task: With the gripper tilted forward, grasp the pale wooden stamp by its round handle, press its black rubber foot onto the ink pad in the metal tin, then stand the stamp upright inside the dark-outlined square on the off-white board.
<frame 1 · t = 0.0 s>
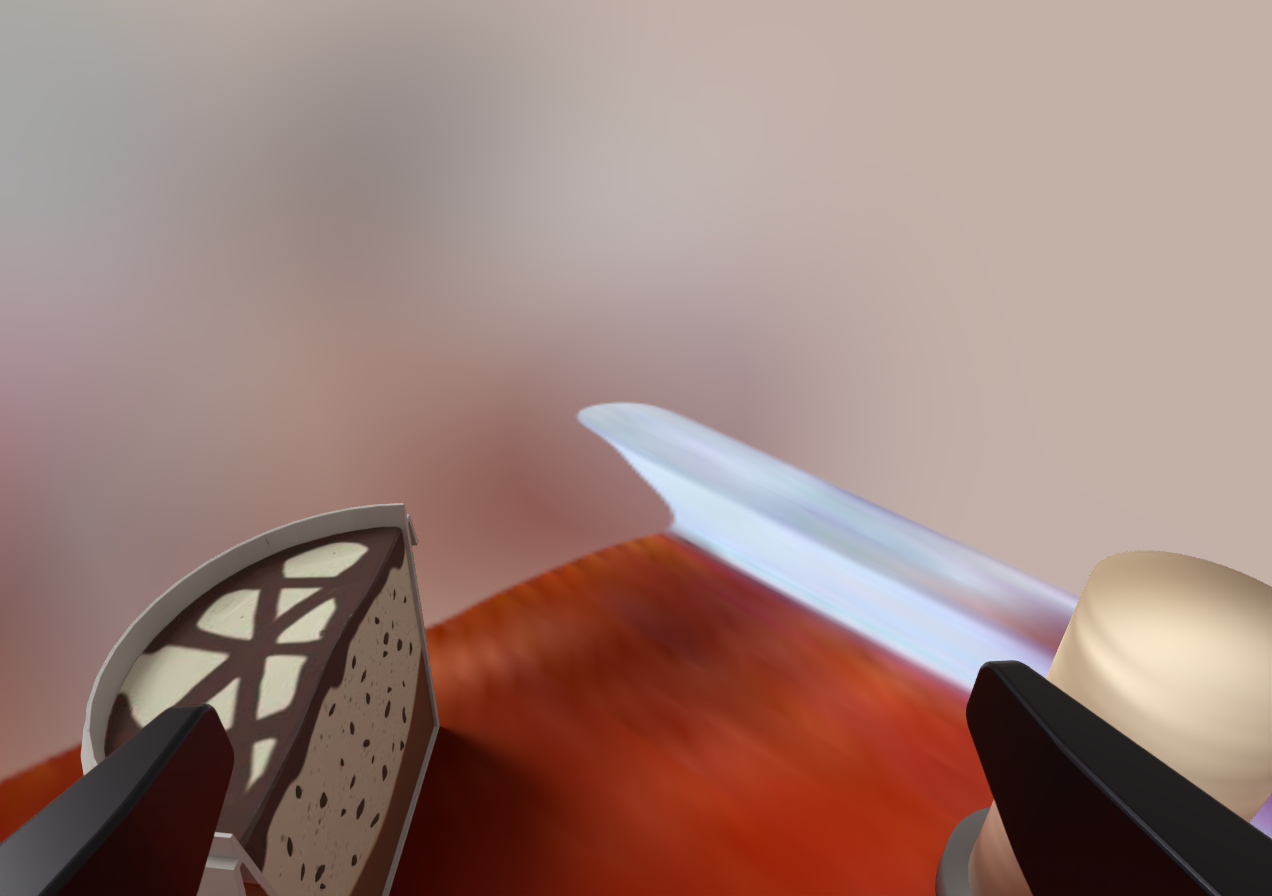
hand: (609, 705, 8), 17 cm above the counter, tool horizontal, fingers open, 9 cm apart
food container: (315, 846, 24), on the counter
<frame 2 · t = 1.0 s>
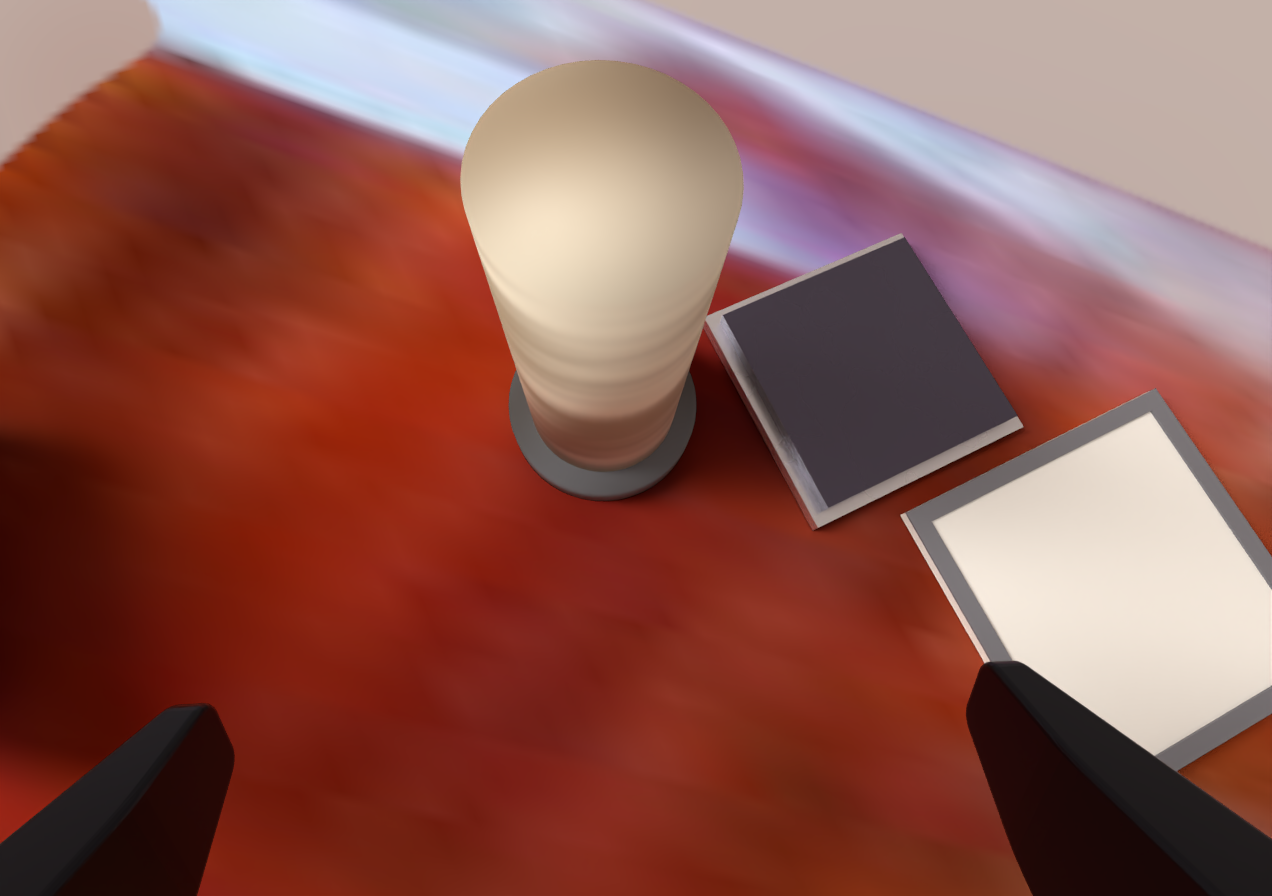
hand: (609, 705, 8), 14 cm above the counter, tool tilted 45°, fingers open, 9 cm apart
stamp: (603, 413, 24), on the counter
ink pad: (856, 377, 24), on the counter
marked board: (1112, 589, 23), on the counter
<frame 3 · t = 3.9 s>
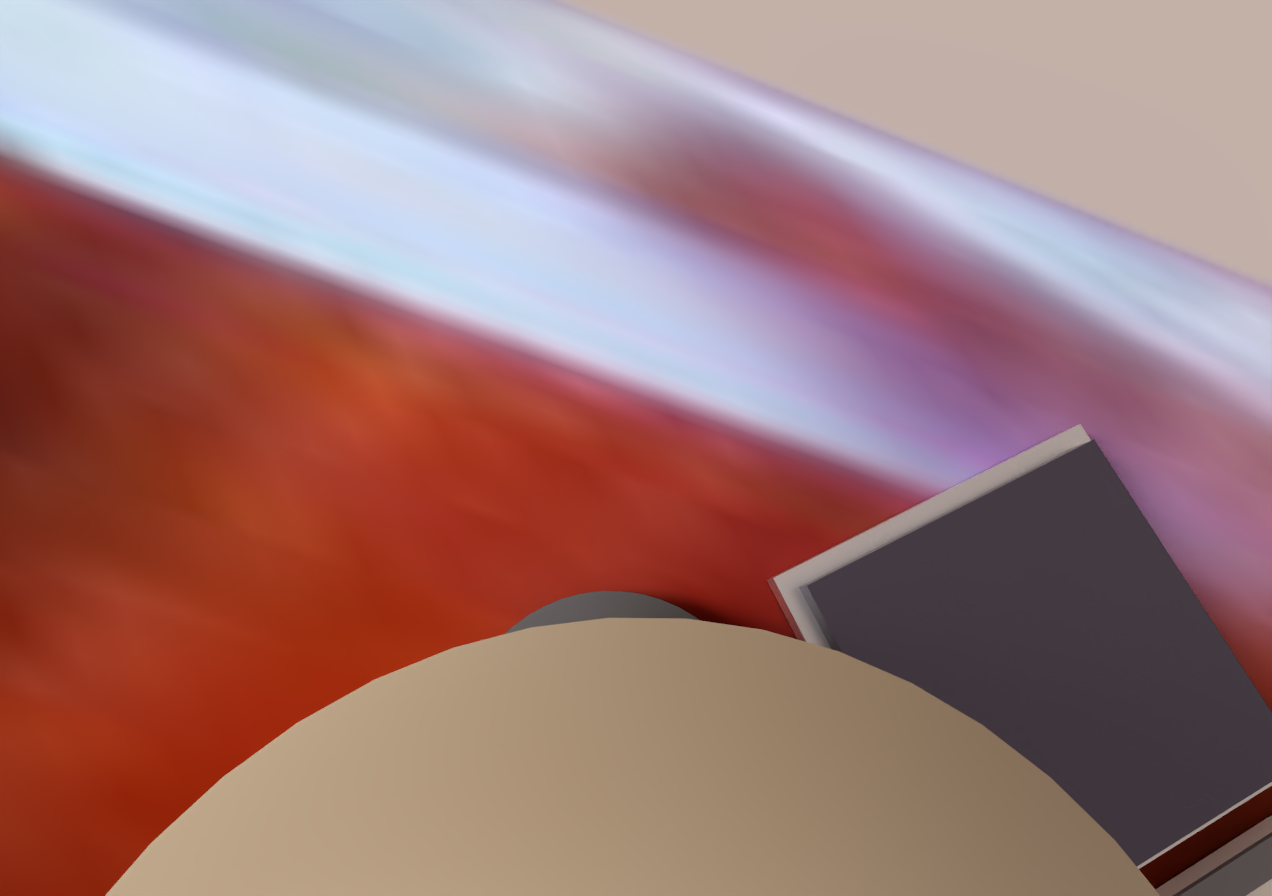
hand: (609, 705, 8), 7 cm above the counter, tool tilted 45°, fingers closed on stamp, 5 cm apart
stamp: (609, 743, 14), on the counter, touching gripper
ink pad: (1016, 668, 15), on the counter
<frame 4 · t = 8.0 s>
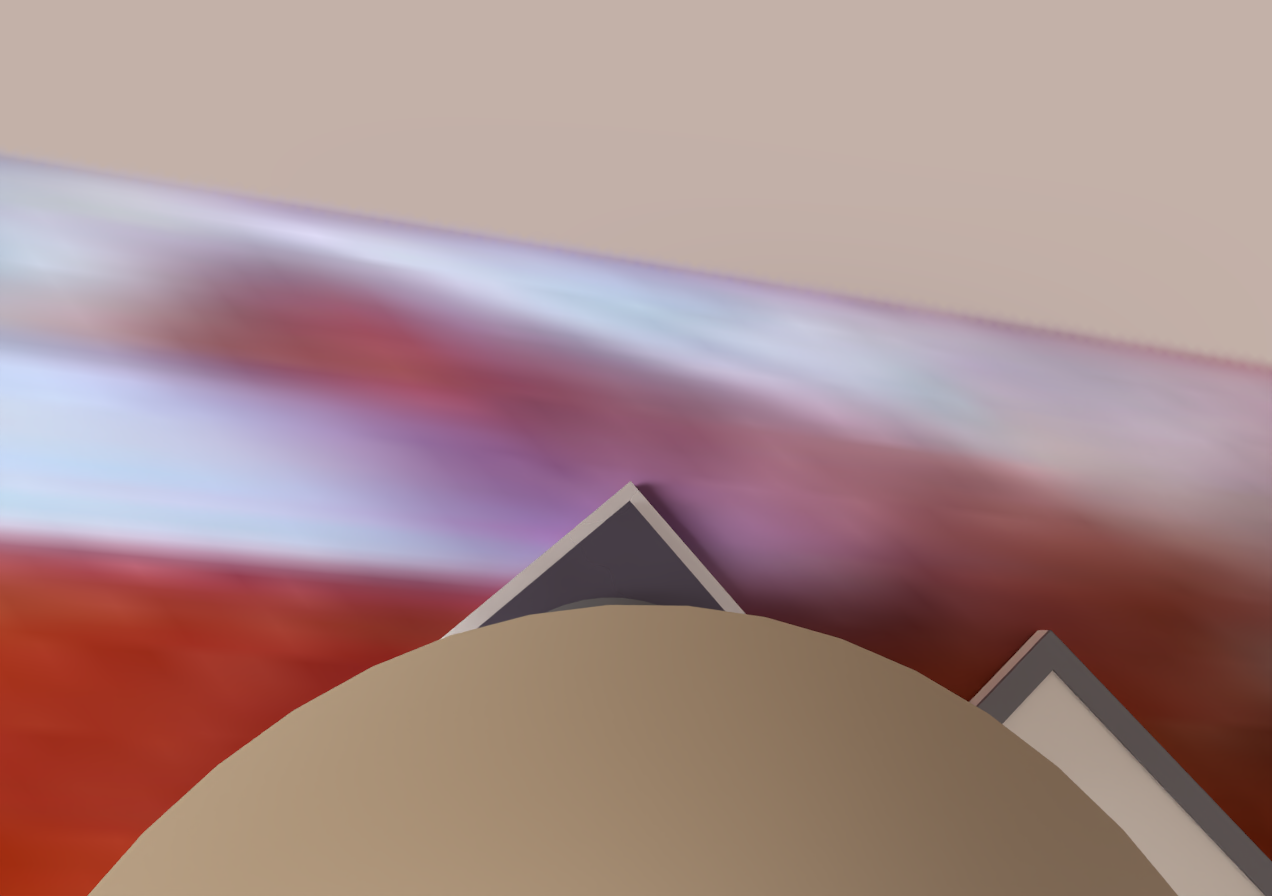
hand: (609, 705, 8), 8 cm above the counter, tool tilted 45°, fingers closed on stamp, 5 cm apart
stamp: (609, 751, 14), point 1 cm above the counter, touching gripper, ink pad
ink pad: (609, 737, 15), on the counter
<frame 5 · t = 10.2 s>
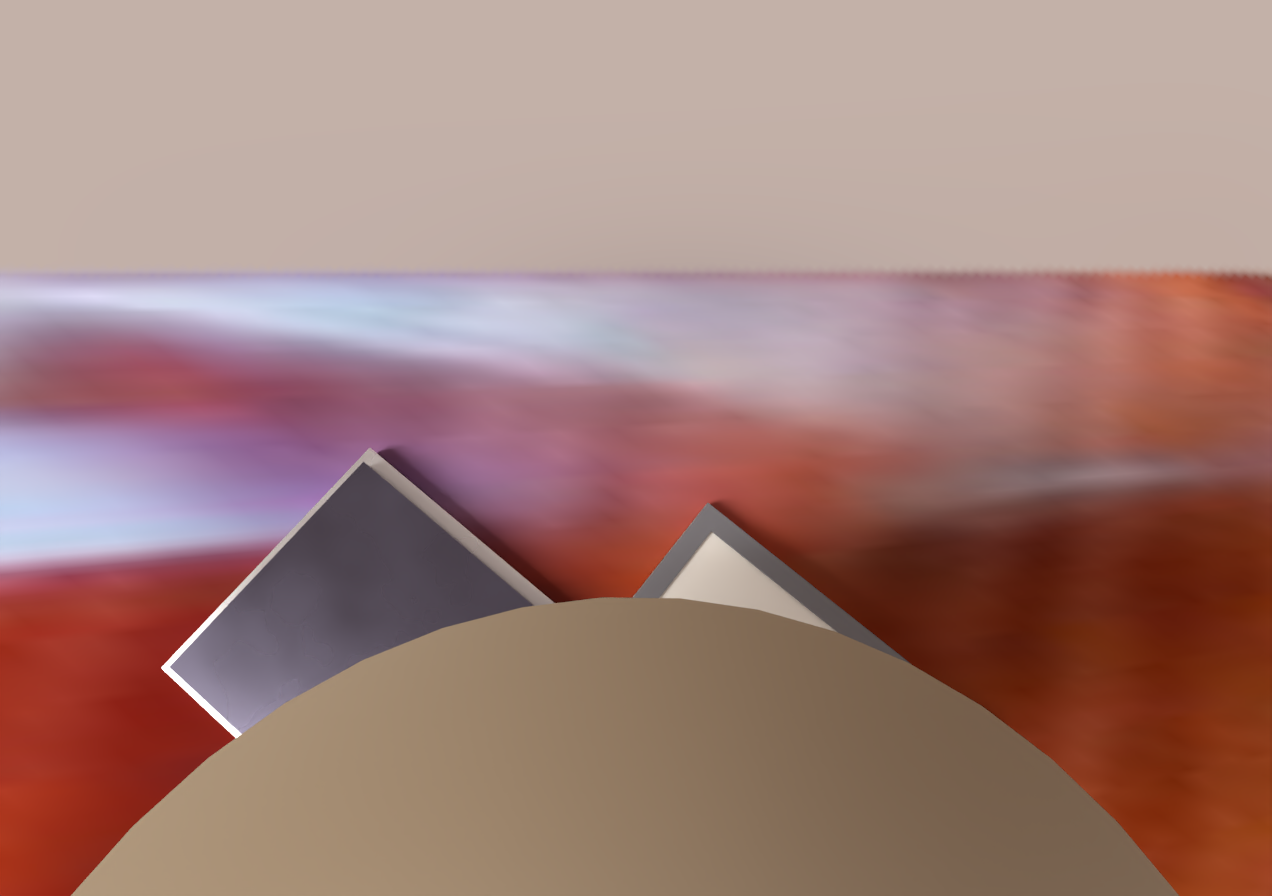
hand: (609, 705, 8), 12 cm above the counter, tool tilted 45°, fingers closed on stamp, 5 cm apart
stamp: (608, 753, 14), point 6 cm above the counter, touching gripper
ink pad: (379, 643, 20), on the counter
marked board: (738, 757, 20), on the counter
when the fingers open (8 cm above the counter, at t = 12.0 s): stamp drops 1 cm, resting on marked board.
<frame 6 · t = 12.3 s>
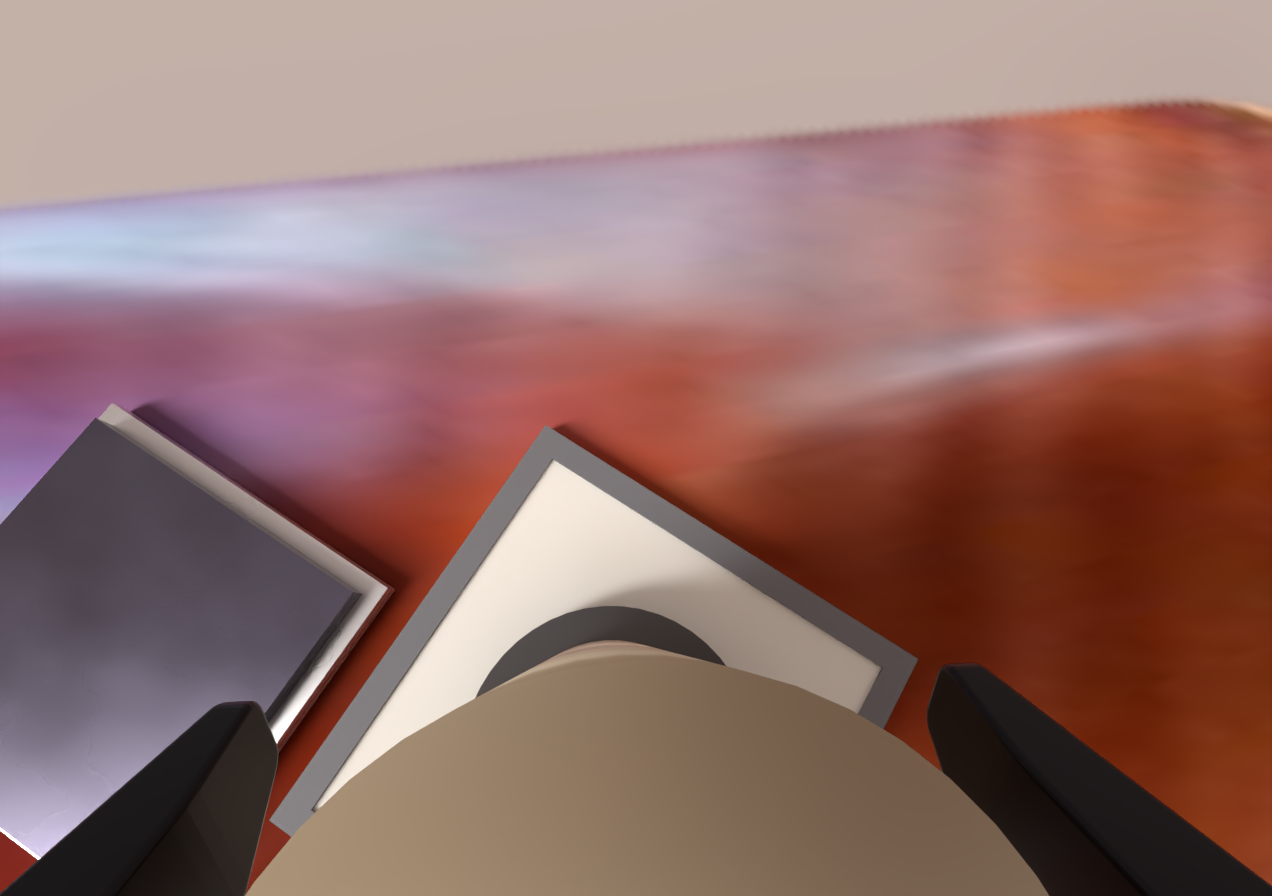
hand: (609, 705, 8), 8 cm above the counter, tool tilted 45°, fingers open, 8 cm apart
stamp: (609, 748, 15), resting on marked board
ink pad: (141, 645, 16), on the counter
marked board: (608, 732, 16), on the counter
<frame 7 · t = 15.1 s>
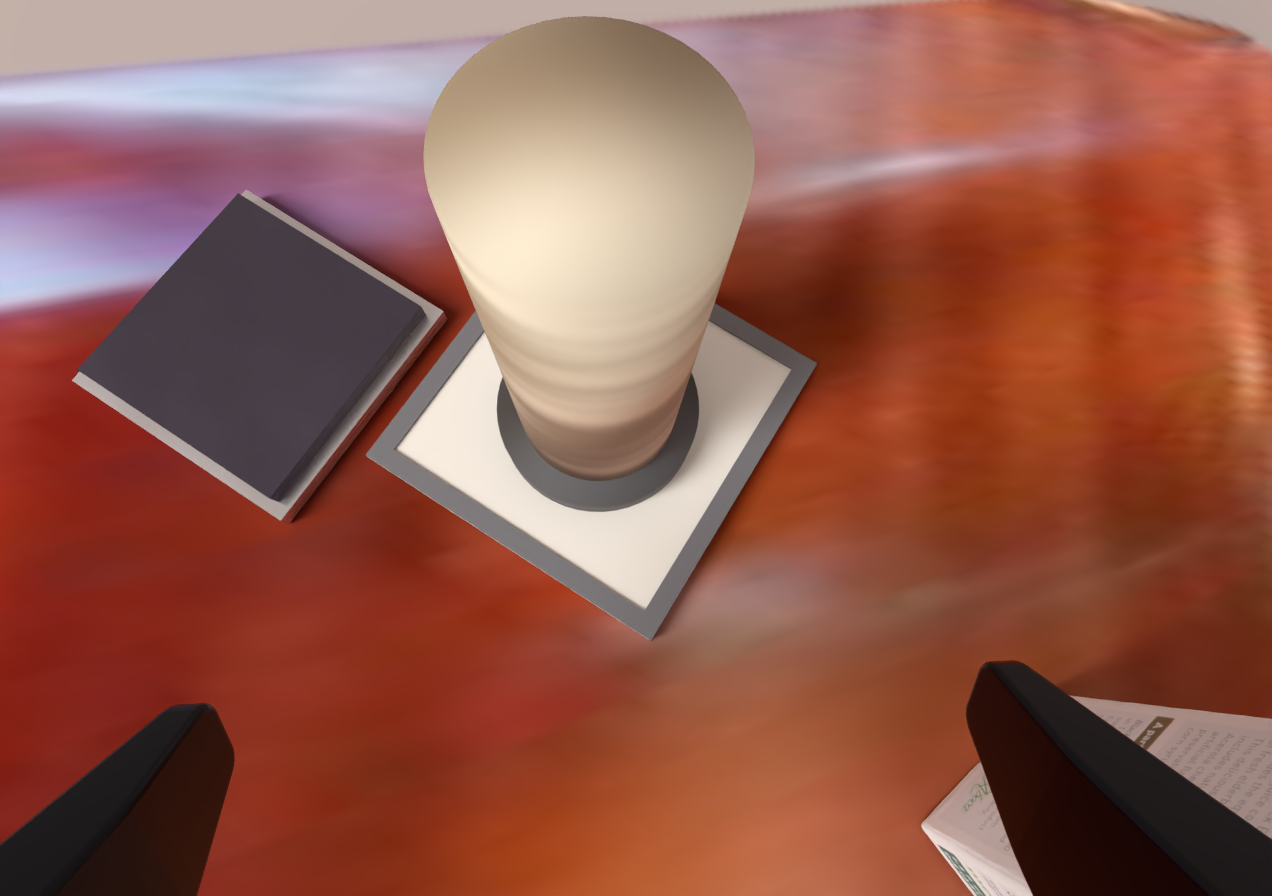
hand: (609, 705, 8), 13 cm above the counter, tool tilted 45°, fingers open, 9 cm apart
stamp: (598, 417, 22), resting on marked board
ink pad: (271, 352, 22), on the counter
syrup box: (1049, 832, 20), on the counter
marked board: (598, 412, 22), on the counter
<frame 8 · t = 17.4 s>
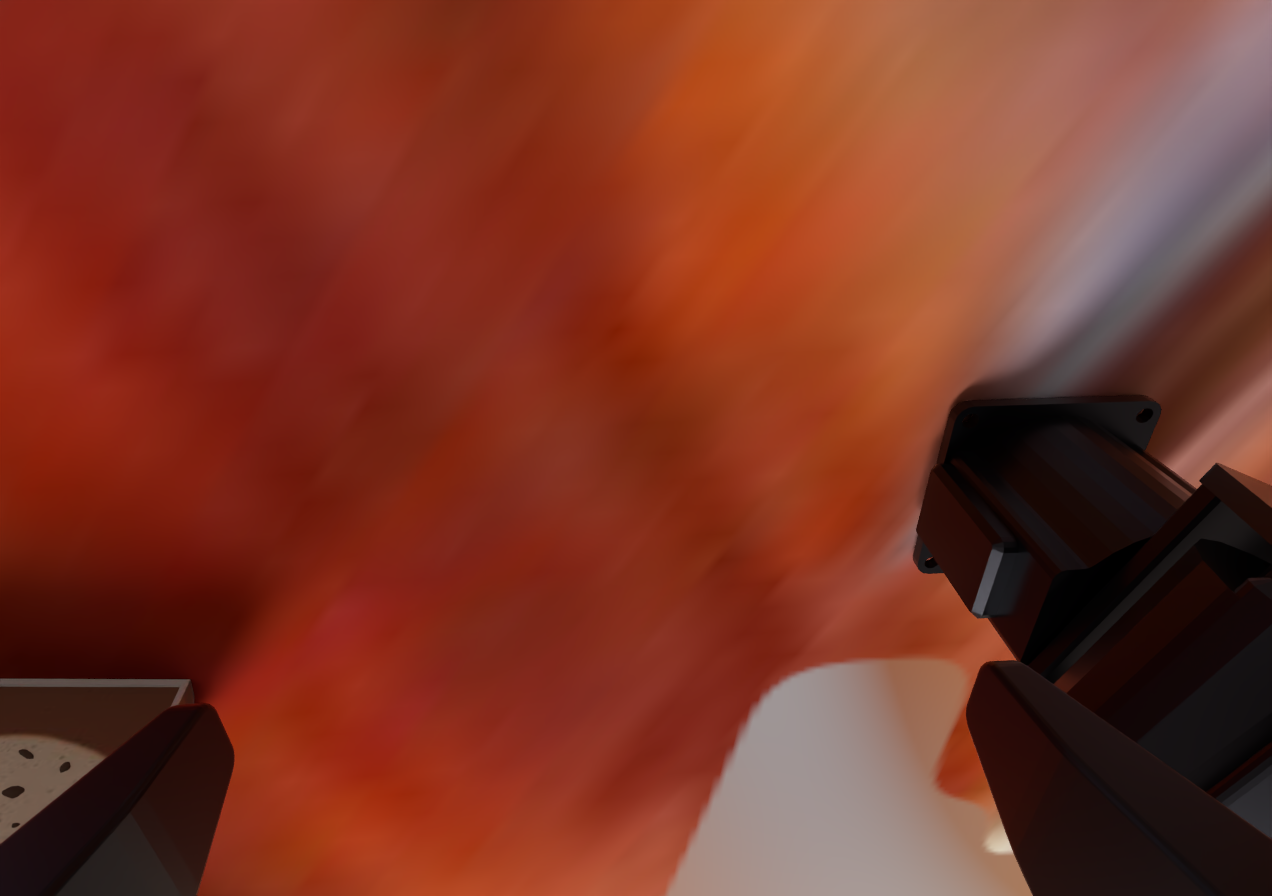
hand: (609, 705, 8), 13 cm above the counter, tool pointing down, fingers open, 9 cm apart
food container: (82, 730, 27), on the counter
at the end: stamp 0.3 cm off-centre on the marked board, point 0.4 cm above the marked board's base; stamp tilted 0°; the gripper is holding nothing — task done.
